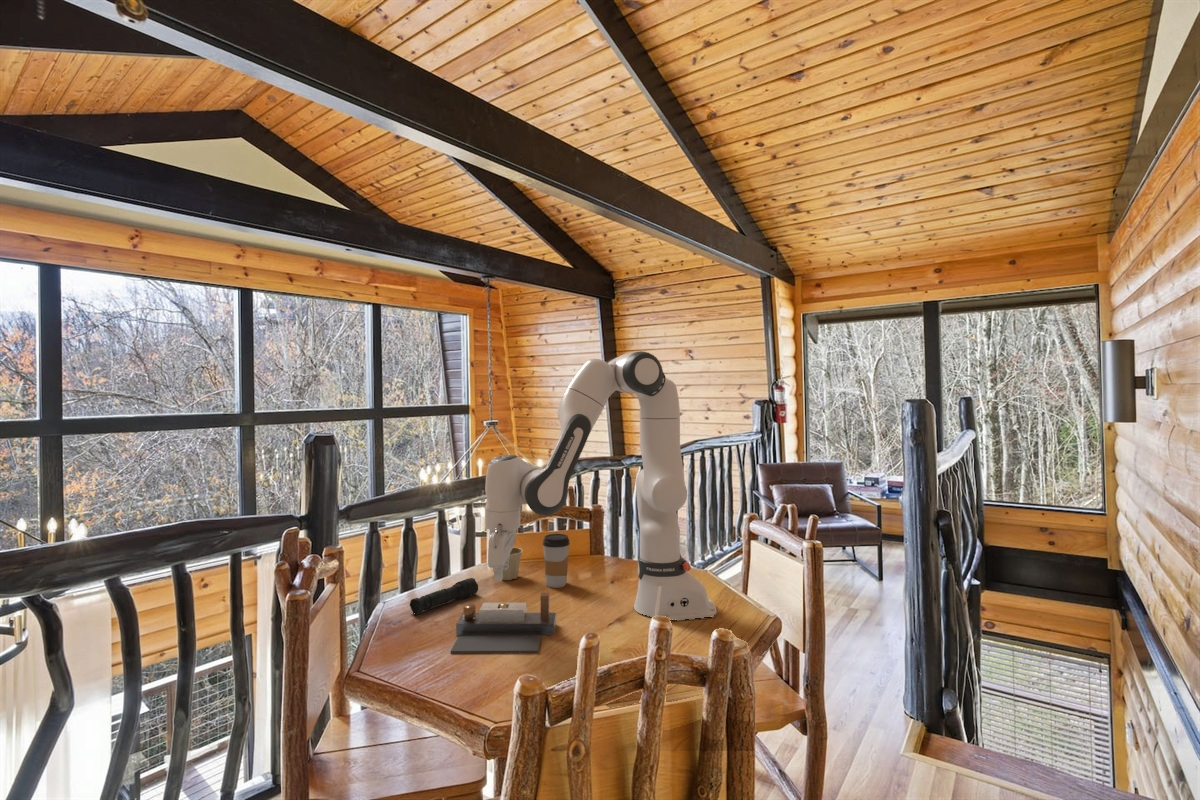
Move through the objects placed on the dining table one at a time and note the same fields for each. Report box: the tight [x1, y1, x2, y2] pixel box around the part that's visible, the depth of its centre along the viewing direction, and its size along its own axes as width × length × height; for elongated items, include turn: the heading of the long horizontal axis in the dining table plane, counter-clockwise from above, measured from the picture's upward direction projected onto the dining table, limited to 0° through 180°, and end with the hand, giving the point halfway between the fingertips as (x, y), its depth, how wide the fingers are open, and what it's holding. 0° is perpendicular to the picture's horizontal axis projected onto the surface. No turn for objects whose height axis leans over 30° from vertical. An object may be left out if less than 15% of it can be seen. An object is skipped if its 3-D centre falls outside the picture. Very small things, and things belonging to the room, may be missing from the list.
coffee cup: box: [542, 533, 570, 589], centre depth 179 cm, size 8×8×15 cm
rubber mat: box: [450, 636, 542, 654], centre depth 136 cm, size 20×8×1 cm, turn 90°
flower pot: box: [502, 546, 524, 581], centre depth 186 cm, size 9×9×9 cm
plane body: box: [455, 592, 557, 637], centre depth 145 cm, size 24×7×9 cm, turn 90°
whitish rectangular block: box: [478, 602, 527, 622], centre depth 145 cm, size 11×5×3 cm, turn 90°
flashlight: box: [409, 577, 479, 616], centre depth 163 cm, size 5×21×5 cm, turn 144°
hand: (501, 574), depth 145 cm, fingers open, 8 cm apart
